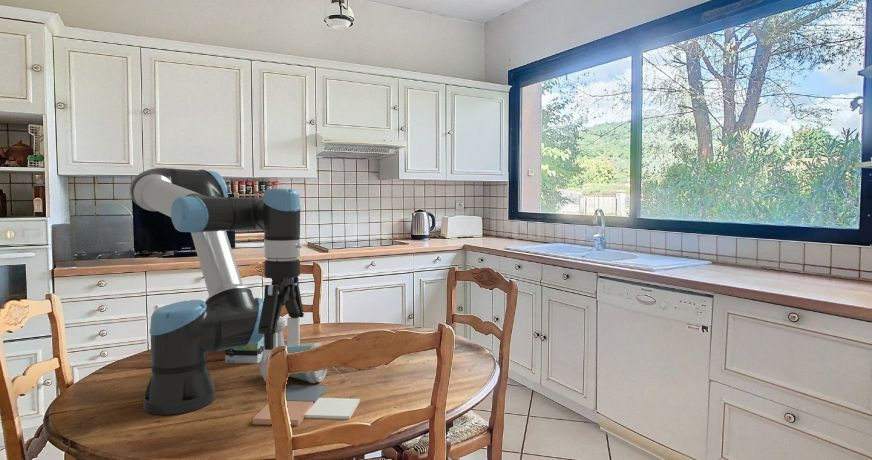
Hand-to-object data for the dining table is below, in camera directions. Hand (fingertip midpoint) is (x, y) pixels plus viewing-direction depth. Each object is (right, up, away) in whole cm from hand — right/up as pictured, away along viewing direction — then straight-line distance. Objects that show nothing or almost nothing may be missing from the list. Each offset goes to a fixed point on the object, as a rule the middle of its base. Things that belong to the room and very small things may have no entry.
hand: (282, 354), depth 110 cm
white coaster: (+11, -14, +4) cm, 18 cm away
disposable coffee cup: (-10, -7, +24) cm, 28 cm away
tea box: (-22, -12, +41) cm, 48 cm away
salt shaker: (0, -4, -5) cm, 7 cm away
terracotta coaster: (0, -14, 0) cm, 14 cm away
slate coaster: (+1, -14, +12) cm, 19 cm away
